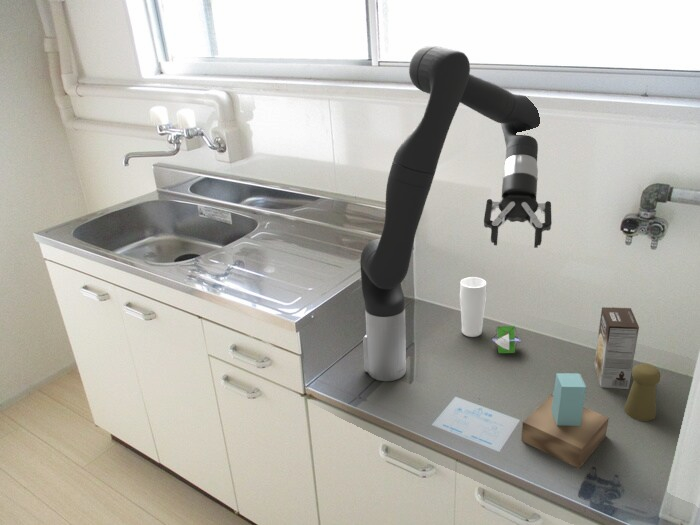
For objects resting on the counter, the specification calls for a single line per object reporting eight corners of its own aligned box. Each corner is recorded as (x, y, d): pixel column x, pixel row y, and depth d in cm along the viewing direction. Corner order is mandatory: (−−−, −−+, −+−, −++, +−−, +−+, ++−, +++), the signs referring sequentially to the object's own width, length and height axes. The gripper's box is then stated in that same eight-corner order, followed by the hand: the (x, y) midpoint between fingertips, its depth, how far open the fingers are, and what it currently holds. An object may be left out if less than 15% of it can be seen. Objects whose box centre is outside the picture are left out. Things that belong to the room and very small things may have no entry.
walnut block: (521, 442, 119) (522, 421, 117) (549, 413, 127) (551, 394, 125) (579, 470, 111) (581, 448, 109) (605, 437, 119) (608, 417, 117)
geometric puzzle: (488, 333, 154) (492, 320, 147) (515, 332, 153) (520, 319, 146) (491, 359, 150) (496, 347, 143) (519, 358, 150) (525, 346, 143)
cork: (629, 399, 129) (636, 356, 125) (659, 409, 125) (667, 365, 121) (620, 413, 125) (627, 369, 120) (651, 424, 121) (659, 379, 117)
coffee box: (593, 365, 142) (600, 305, 135) (621, 367, 140) (630, 307, 134) (600, 388, 133) (608, 325, 127) (630, 390, 132) (640, 327, 126)
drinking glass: (465, 341, 155) (467, 289, 149) (454, 329, 161) (455, 279, 155) (489, 336, 156) (491, 285, 150) (477, 324, 162) (479, 275, 156)
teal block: (556, 425, 115) (561, 386, 112) (551, 410, 119) (556, 373, 116) (580, 425, 115) (586, 387, 111) (574, 411, 119) (579, 373, 116)
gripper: (487, 170, 133) (481, 236, 127) (554, 172, 129) (551, 240, 123) (488, 187, 139) (482, 250, 134) (551, 188, 135) (548, 254, 130)
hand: (515, 245), depth 128 cm, fingers open, 8 cm apart
